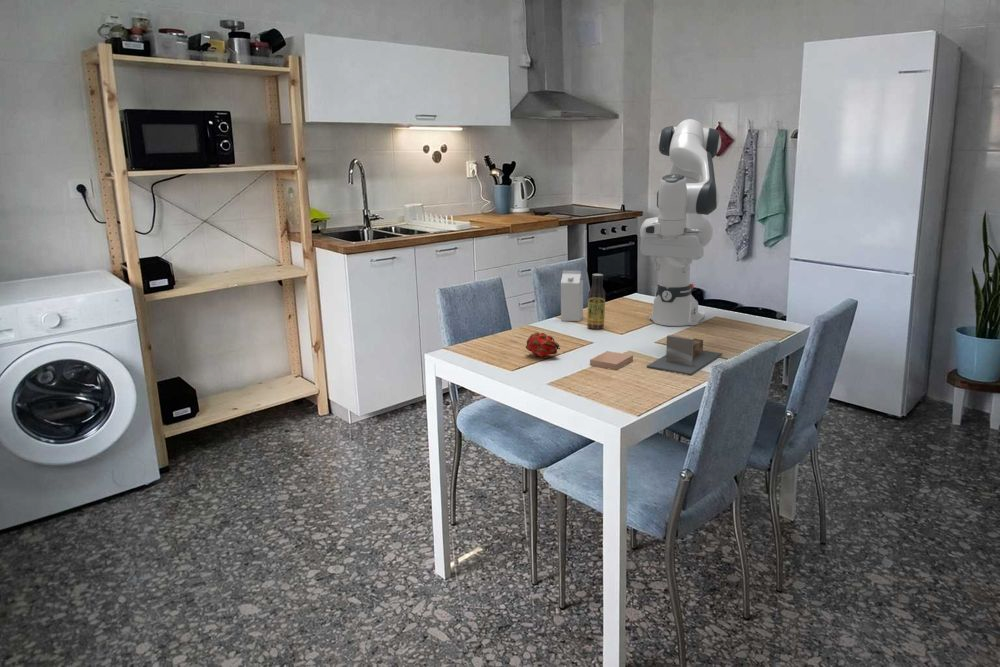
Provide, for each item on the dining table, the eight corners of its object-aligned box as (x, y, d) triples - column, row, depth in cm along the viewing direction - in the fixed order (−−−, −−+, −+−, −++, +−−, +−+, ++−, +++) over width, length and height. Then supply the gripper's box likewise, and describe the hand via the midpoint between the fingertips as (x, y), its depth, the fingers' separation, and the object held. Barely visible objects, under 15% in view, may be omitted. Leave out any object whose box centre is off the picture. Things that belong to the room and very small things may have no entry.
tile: (607, 351, 223) (590, 359, 215) (633, 355, 218) (616, 364, 210) (607, 357, 224) (590, 366, 216) (632, 362, 219) (616, 371, 210)
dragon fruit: (526, 357, 231) (557, 367, 225) (516, 348, 224) (548, 359, 218) (536, 334, 233) (567, 344, 227) (526, 324, 225) (559, 334, 219)
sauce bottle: (587, 329, 256) (587, 276, 251) (587, 325, 262) (587, 272, 257) (605, 329, 255) (605, 275, 250) (605, 325, 261) (605, 272, 256)
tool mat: (680, 348, 230) (680, 346, 230) (722, 355, 221) (722, 353, 221) (646, 367, 212) (646, 365, 211) (690, 375, 203) (690, 373, 203)
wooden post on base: (686, 349, 226) (687, 325, 224) (710, 353, 222) (711, 328, 219) (666, 361, 215) (666, 336, 213) (691, 365, 210) (692, 339, 208)
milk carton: (565, 316, 277) (564, 268, 272) (583, 317, 274) (583, 269, 269) (561, 321, 270) (560, 272, 265) (579, 321, 268) (579, 272, 263)
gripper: (707, 228, 217) (706, 272, 221) (647, 224, 229) (646, 266, 233) (699, 231, 212) (698, 276, 216) (638, 227, 224) (637, 270, 229)
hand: (670, 270), depth 225 cm, fingers open, 8 cm apart
